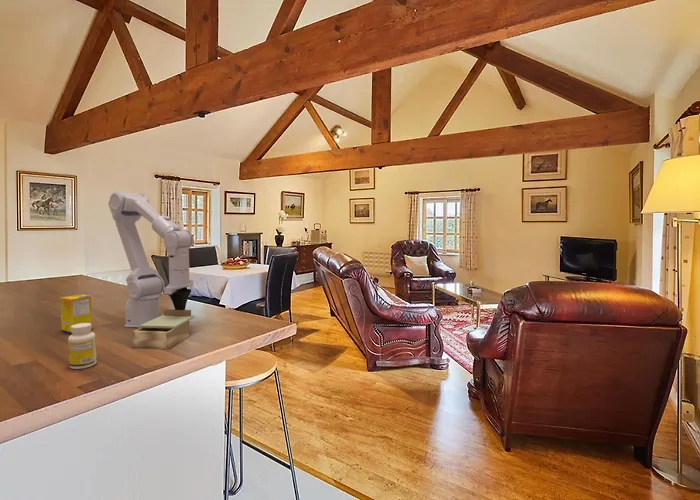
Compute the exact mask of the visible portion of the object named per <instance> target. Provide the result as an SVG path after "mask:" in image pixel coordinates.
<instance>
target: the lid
mask: <svg viewBox="0 0 700 500" xmlns="http://www.w3.org/2000/svg"><path fill="white" fill-rule="evenodd" d="M195 317H196V316H195V315H192V309H185V310H175V308H173V309H170V308H169V309H167V308H165V309H164V310H163V314H162V315H159V317H157V318H155V319H153V320H151V321H148V322H146V323H144V324H142V325H140V327H139V328H173V329H175V328H177V327H179V326H180V325H182V324H184V323H186V322H188V321H189V322H190V321H191V320H193V319H195Z"/></svg>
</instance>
